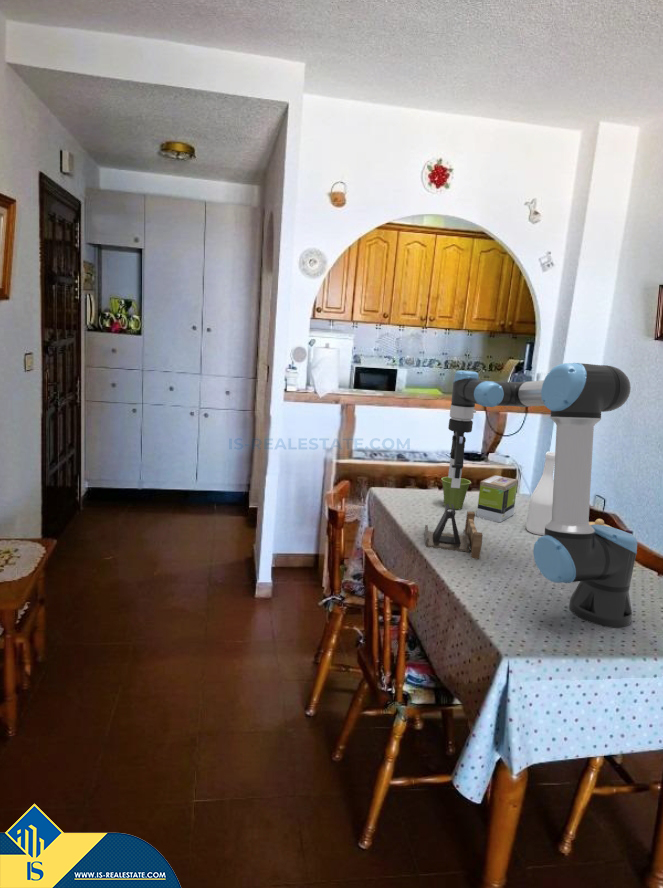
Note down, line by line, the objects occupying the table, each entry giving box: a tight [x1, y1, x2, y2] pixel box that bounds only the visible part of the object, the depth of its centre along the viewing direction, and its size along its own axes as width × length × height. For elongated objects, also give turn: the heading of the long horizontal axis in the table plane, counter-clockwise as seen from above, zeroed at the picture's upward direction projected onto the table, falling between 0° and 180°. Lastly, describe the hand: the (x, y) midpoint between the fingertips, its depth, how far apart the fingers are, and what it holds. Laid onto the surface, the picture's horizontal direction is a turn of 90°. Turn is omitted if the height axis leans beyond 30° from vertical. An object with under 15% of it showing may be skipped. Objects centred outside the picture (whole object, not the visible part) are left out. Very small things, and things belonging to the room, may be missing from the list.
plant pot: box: [441, 476, 472, 510], centre depth 248 cm, size 12×12×11 cm
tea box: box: [476, 474, 519, 523], centre depth 240 cm, size 15×10×15 cm, turn 144°
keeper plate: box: [424, 524, 470, 553], centre depth 206 cm, size 14×14×3 cm
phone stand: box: [433, 503, 461, 545], centre depth 205 cm, size 9×6×12 cm, turn 83°
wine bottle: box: [525, 450, 555, 536], centre depth 223 cm, size 10×10×30 cm
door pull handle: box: [464, 511, 483, 560], centre depth 205 cm, size 25×2×8 cm, turn 173°
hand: (453, 482), depth 202 cm, fingers open, 13 cm apart
